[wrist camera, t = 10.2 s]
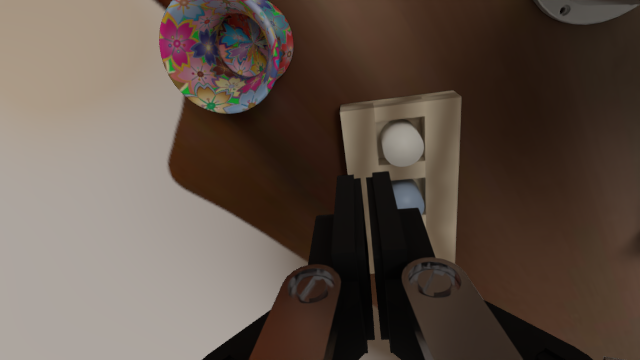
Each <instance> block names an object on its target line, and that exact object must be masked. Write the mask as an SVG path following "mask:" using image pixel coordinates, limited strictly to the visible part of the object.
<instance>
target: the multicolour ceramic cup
mask: <svg viewBox="0 0 640 360" xmlns="http://www.w3.org/2000/svg"><path fill="white" fill-rule="evenodd" d="M159 45H160V52H161V57H162V60H163V63H164V66H165V68H166V70H167V73H168V75H169V77H170V78H171V80H172V81H173V83H174V84H175V86H176V87H177V88H178V89H179V90H180V91H181V92H182V93H183V95H185V96H186V97H187V98H188V99H189V100H191V101H192V102H193V103H195V104H197V105H198V106H200V107H202V108H205V109H207V110H210V111H213V112H217V113H225V114H231V113H239V112H243V111H246V110H248V109H251V108H252V107H254V106H256V105H257V104H259V103H260V102H261V101H262V100H263V99H264V98H265V97H266V96H267V95H268V93H269V92H270V90H271V89H272V87H273V85H274V83H275V80H277V79H278V78H279V77H280V76H282V74H283V73H284V72H285V71H286V69H287V68H288V66H289V64H290V61H291V59H292V54H293V36H292V32H291V29H290V26H289V24H288V22H287V20H286V18H285V17H284V15H283V14H282V13H281V11H280V10H279V9H278V8H277V7H276V6H274V5H273V4H272V3H270V2H269V1H267V0H173V1H172V2H171V3H170V5H169V6H168V8H167V10H166V12H165V14H164V16H163V19H162V22H161V26H160V34H159Z"/></svg>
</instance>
